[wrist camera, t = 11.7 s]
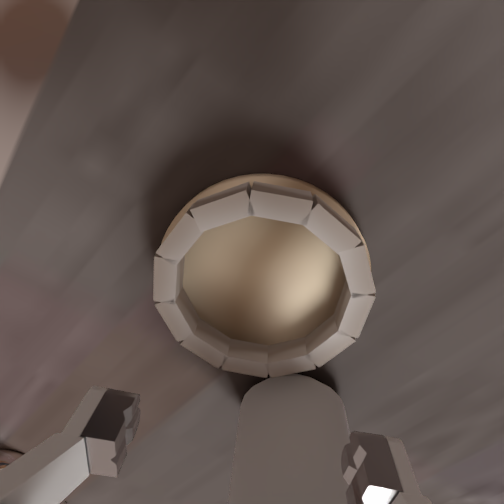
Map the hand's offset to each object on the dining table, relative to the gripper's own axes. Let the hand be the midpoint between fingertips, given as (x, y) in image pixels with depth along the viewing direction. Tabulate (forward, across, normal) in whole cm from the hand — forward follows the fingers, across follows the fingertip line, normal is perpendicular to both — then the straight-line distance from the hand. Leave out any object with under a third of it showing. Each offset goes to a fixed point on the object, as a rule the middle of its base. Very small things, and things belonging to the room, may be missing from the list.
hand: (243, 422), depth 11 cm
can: (+10, -4, +10) cm, 15 cm away
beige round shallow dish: (+10, 0, 0) cm, 10 cm away
